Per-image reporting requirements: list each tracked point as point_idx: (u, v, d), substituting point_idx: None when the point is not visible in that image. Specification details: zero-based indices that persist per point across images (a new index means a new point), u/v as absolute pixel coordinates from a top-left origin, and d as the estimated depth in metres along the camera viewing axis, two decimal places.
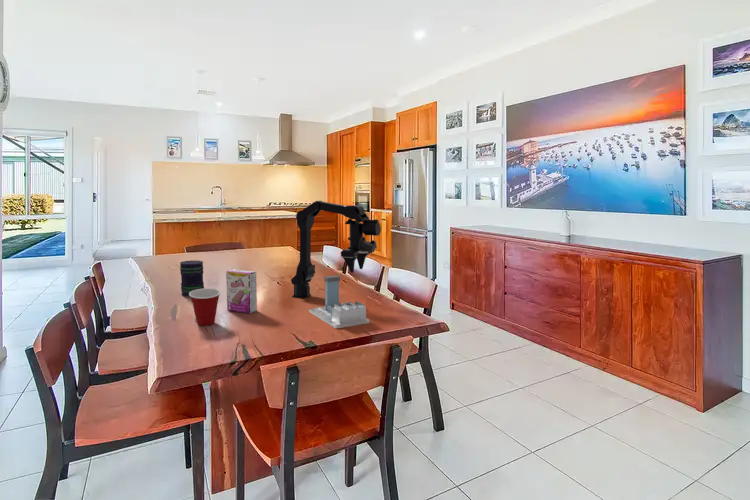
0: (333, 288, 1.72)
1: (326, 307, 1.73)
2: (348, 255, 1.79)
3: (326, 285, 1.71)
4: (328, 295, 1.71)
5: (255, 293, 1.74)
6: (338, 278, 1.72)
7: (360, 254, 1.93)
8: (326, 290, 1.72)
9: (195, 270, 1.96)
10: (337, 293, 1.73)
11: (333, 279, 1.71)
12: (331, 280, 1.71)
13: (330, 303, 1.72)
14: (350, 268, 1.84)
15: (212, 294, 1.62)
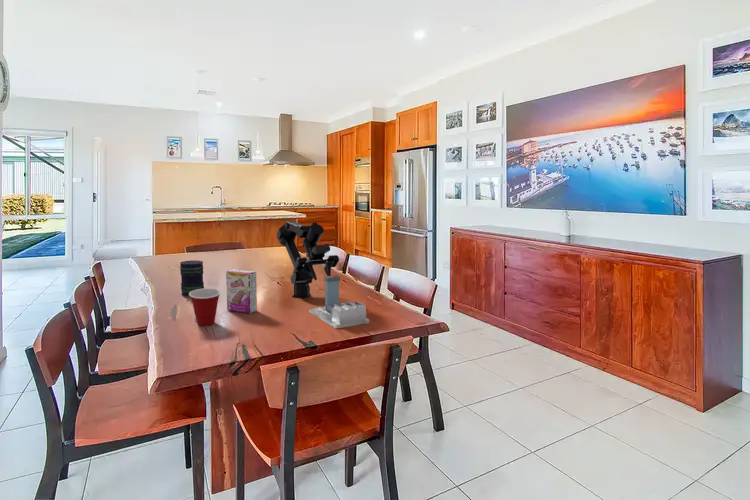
0: (333, 288, 1.72)
1: (326, 307, 1.73)
2: (297, 264, 1.78)
3: (326, 285, 1.71)
4: (328, 295, 1.71)
5: (255, 293, 1.74)
6: (338, 278, 1.72)
7: (325, 266, 1.85)
8: (326, 290, 1.72)
9: (195, 270, 1.96)
10: (337, 293, 1.73)
11: (333, 279, 1.71)
12: (331, 280, 1.71)
13: (330, 303, 1.72)
14: (312, 276, 1.79)
15: (212, 294, 1.62)
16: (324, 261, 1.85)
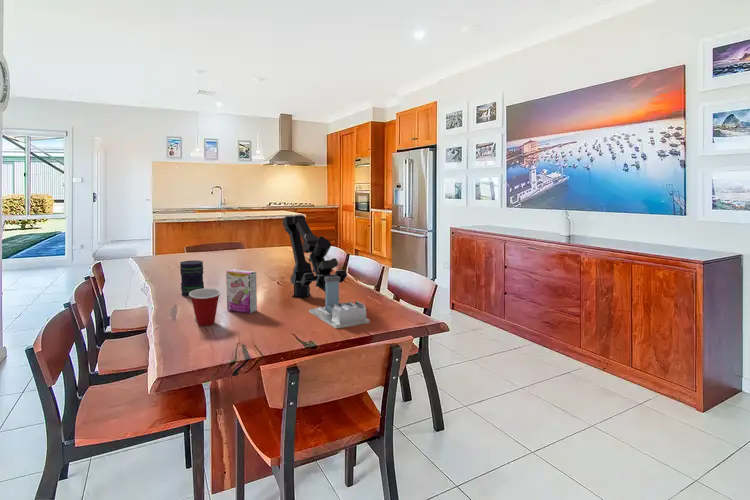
0: (333, 288, 1.72)
1: (326, 307, 1.73)
2: (303, 279, 1.73)
3: (326, 285, 1.71)
4: (328, 295, 1.71)
5: (255, 293, 1.74)
6: (338, 278, 1.72)
7: None
8: (326, 290, 1.72)
9: (195, 270, 1.96)
10: (337, 293, 1.73)
11: (333, 279, 1.71)
12: (331, 280, 1.71)
13: (330, 303, 1.72)
14: None
15: (212, 294, 1.62)
16: None
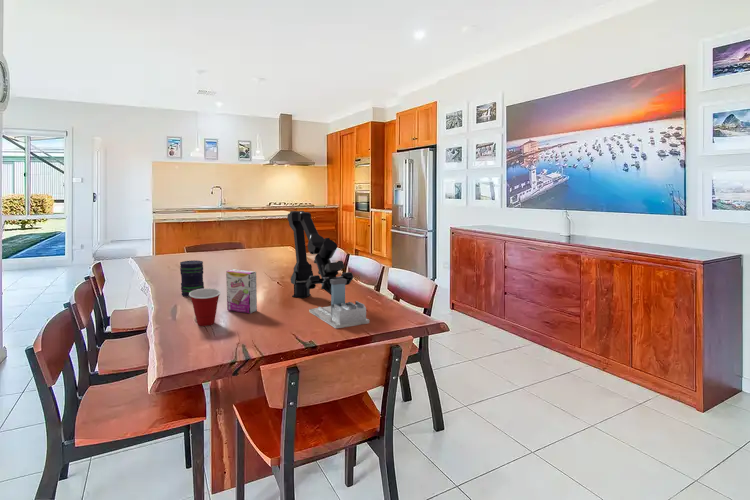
0: (339, 291, 1.67)
1: None
2: (309, 282, 1.68)
3: (332, 288, 1.67)
4: (334, 298, 1.67)
5: (255, 293, 1.74)
6: (344, 281, 1.68)
7: None
8: (332, 293, 1.67)
9: (195, 270, 1.96)
10: (343, 296, 1.69)
11: (339, 282, 1.66)
12: (337, 283, 1.66)
13: None
14: None
15: (212, 294, 1.62)
16: None
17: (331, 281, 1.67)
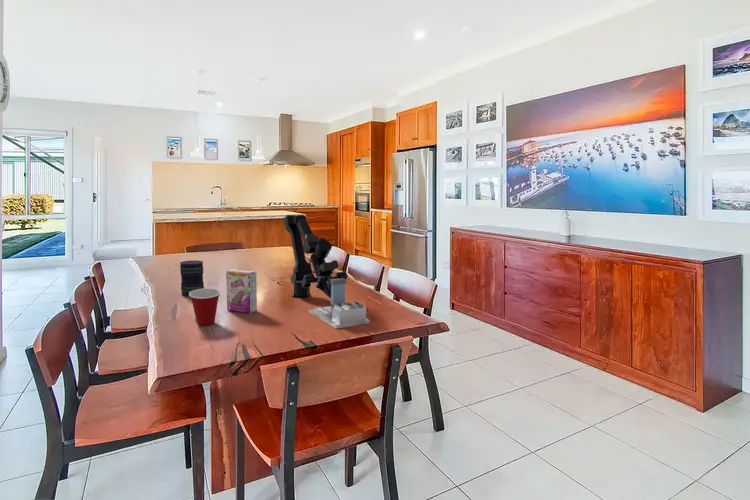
0: (339, 291, 1.68)
1: None
2: (304, 281, 1.73)
3: (332, 288, 1.67)
4: (334, 298, 1.67)
5: (255, 293, 1.74)
6: (344, 281, 1.68)
7: (327, 284, 1.78)
8: (332, 293, 1.67)
9: (195, 270, 1.96)
10: (343, 296, 1.69)
11: (339, 282, 1.67)
12: (337, 283, 1.66)
13: None
14: (327, 294, 1.75)
15: (212, 294, 1.62)
16: (332, 278, 1.80)
17: (331, 281, 1.67)
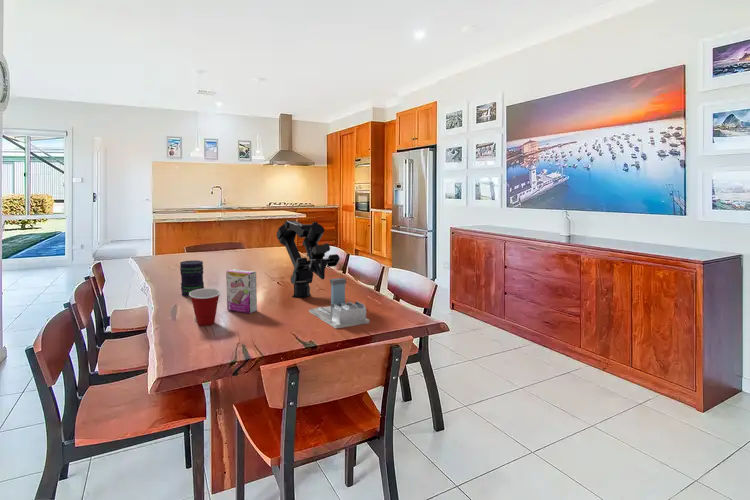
0: (339, 291, 1.68)
1: None
2: (297, 264, 1.79)
3: (332, 288, 1.67)
4: (334, 298, 1.67)
5: (255, 293, 1.74)
6: (344, 281, 1.68)
7: (320, 266, 1.84)
8: (332, 293, 1.67)
9: (195, 270, 1.96)
10: (343, 296, 1.69)
11: (339, 282, 1.67)
12: (337, 283, 1.66)
13: None
14: (319, 275, 1.81)
15: (212, 294, 1.62)
16: (324, 260, 1.85)
17: (331, 281, 1.67)
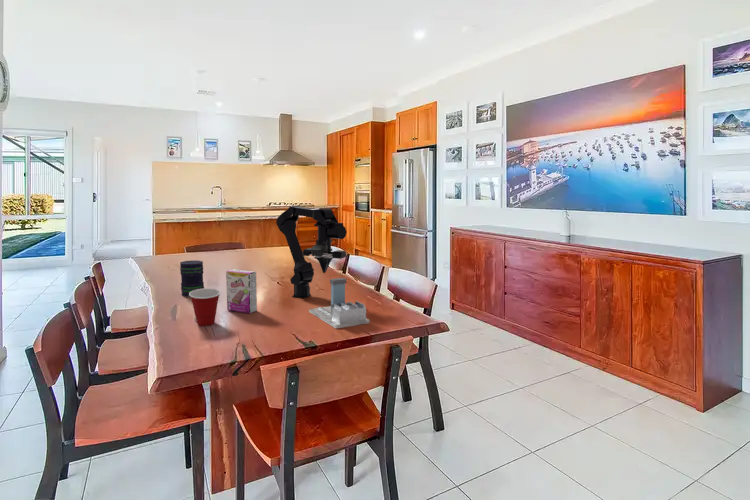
0: (339, 291, 1.68)
1: None
2: None
3: (332, 288, 1.67)
4: (334, 298, 1.67)
5: (255, 293, 1.74)
6: (344, 281, 1.68)
7: None
8: (332, 293, 1.67)
9: (195, 270, 1.96)
10: (343, 296, 1.69)
11: (339, 282, 1.67)
12: (337, 283, 1.66)
13: None
14: None
15: (212, 294, 1.62)
16: None
17: (331, 281, 1.67)
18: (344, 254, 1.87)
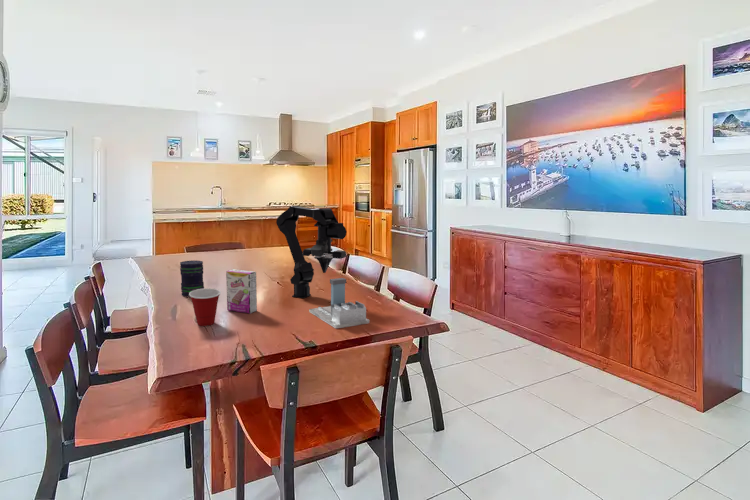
0: (339, 291, 1.68)
1: None
2: None
3: (332, 288, 1.67)
4: (334, 298, 1.67)
5: (255, 293, 1.74)
6: (344, 281, 1.68)
7: None
8: (332, 293, 1.67)
9: (195, 270, 1.96)
10: (343, 296, 1.69)
11: (339, 282, 1.67)
12: (337, 283, 1.66)
13: None
14: None
15: (212, 294, 1.62)
16: None
17: (331, 281, 1.67)
18: (344, 254, 1.87)
